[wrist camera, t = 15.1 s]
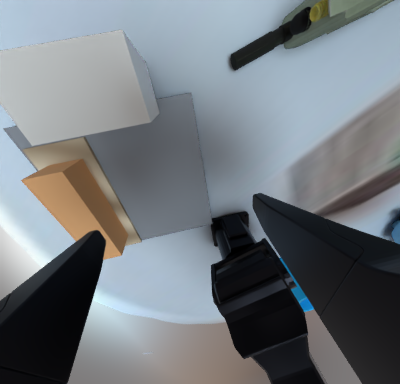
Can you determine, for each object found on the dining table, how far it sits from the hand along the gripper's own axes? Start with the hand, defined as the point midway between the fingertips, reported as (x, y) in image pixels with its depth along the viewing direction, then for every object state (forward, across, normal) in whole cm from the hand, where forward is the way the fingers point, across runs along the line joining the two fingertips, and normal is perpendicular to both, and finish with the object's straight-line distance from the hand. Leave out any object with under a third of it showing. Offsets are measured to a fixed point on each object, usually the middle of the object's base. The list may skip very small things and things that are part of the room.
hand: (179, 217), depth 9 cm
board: (+12, +6, +3) cm, 14 cm away
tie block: (+11, +4, -7) cm, 14 cm away
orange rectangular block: (+11, +11, +4) cm, 16 cm away
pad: (+11, +12, +4) cm, 16 cm away
